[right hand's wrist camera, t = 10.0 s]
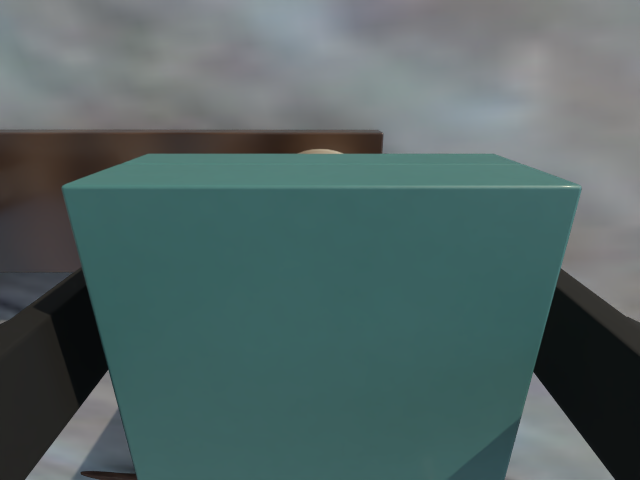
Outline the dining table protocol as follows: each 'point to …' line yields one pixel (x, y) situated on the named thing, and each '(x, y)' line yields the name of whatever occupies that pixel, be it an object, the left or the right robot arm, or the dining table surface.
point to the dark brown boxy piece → (107, 151)
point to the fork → (109, 475)
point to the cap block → (321, 309)
